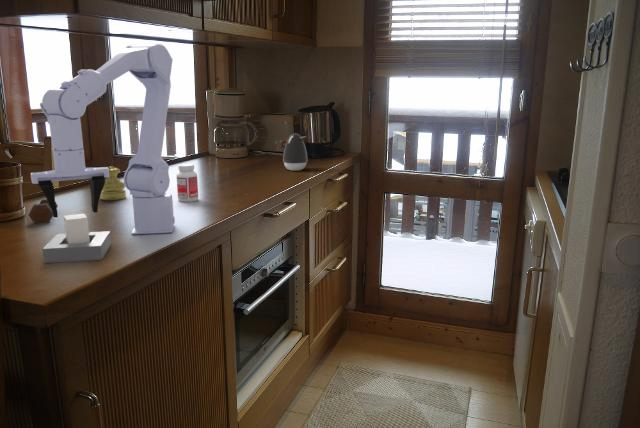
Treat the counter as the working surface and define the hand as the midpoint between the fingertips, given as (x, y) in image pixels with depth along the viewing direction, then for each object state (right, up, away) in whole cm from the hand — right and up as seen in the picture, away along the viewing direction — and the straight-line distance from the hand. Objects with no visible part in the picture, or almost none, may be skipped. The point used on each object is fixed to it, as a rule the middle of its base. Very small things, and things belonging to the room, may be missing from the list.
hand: (75, 213), depth 111 cm
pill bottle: (+11, +4, +53) cm, 54 cm away
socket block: (0, -8, +2) cm, 9 cm away
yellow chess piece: (-13, +5, +55) cm, 57 cm away
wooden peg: (0, -8, +2) cm, 9 cm away
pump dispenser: (+41, +18, +111) cm, 119 cm away
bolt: (-23, -1, +32) cm, 39 cm away
